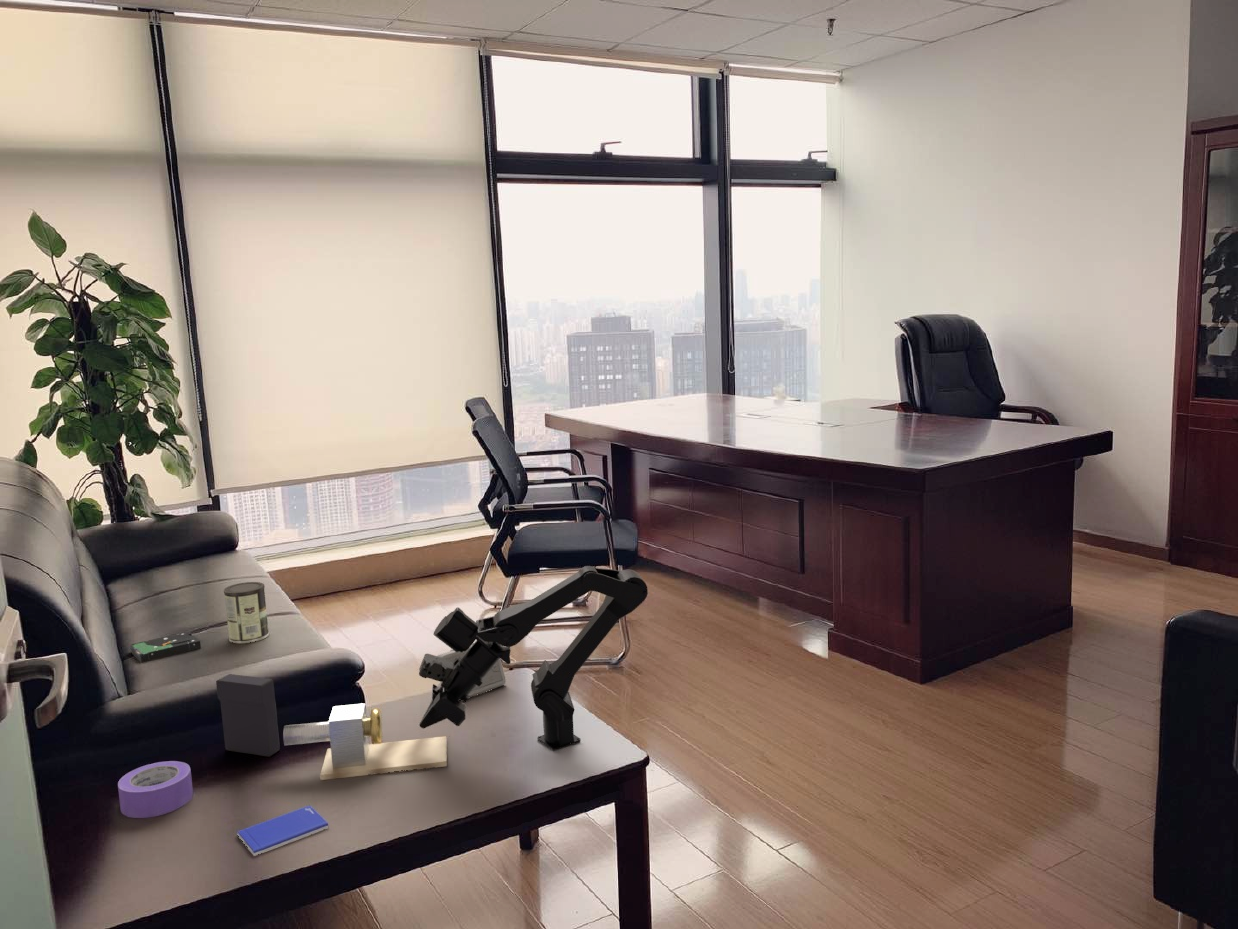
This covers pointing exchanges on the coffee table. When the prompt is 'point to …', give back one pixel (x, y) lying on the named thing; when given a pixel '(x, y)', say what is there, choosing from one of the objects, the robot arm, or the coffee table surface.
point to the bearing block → (348, 736)
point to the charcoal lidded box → (248, 714)
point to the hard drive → (282, 830)
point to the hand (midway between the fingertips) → (421, 726)
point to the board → (393, 758)
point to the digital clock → (490, 679)
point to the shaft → (321, 732)
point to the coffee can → (246, 612)
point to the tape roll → (155, 789)
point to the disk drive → (165, 646)
